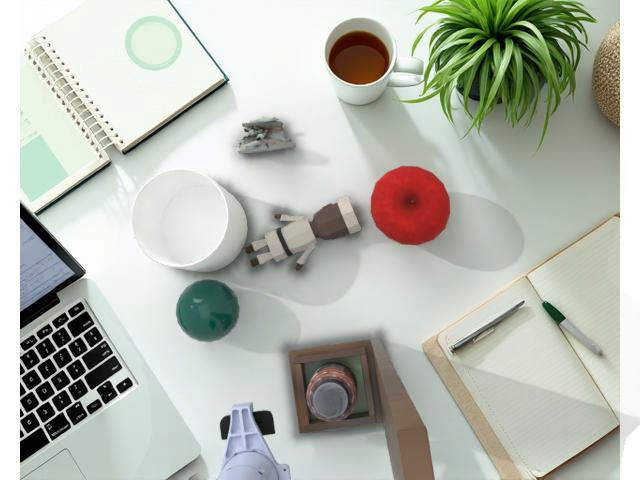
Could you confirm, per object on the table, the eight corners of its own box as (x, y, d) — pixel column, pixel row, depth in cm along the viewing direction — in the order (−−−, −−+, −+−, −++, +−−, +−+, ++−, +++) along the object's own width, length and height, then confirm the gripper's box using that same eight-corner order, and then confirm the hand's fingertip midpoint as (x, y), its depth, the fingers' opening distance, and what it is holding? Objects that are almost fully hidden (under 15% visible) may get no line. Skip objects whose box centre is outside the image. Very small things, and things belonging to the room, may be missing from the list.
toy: (263, 285, 83) (367, 243, 82) (256, 285, 78) (365, 240, 77) (241, 229, 84) (343, 187, 83) (233, 226, 79) (341, 181, 78)
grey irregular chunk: (297, 150, 84) (292, 136, 77) (239, 157, 84) (228, 145, 77) (294, 119, 84) (288, 103, 77) (236, 127, 85) (225, 112, 78)
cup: (180, 174, 84) (150, 154, 72) (259, 202, 83) (243, 185, 71) (150, 255, 84) (115, 248, 72) (230, 284, 83) (208, 281, 71)
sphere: (188, 342, 82) (169, 347, 74) (183, 282, 83) (165, 281, 75) (247, 337, 82) (235, 341, 74) (242, 277, 83) (230, 274, 75)
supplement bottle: (303, 373, 80) (294, 386, 69) (345, 354, 80) (343, 363, 69) (323, 416, 79) (317, 436, 68) (365, 397, 79) (366, 413, 68)
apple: (454, 234, 81) (468, 224, 71) (386, 261, 82) (390, 255, 71) (425, 165, 82) (435, 145, 72) (358, 192, 83) (358, 176, 72)
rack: (391, 420, 80) (472, 712, 23) (299, 432, 80) (162, 747, 24) (379, 337, 81) (426, 427, 24) (288, 350, 81) (131, 467, 25)
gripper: (296, 572, 56) (306, 514, 69) (274, 411, 57) (288, 384, 70) (220, 582, 56) (244, 522, 70) (198, 422, 57) (227, 393, 70)
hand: (262, 453), depth 70 cm, fingers open, 7 cm apart
